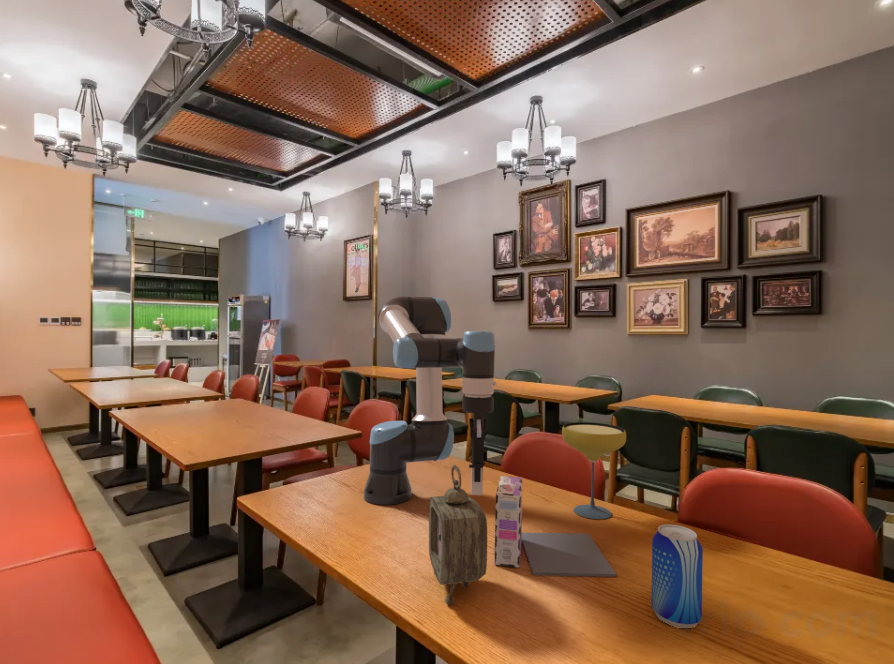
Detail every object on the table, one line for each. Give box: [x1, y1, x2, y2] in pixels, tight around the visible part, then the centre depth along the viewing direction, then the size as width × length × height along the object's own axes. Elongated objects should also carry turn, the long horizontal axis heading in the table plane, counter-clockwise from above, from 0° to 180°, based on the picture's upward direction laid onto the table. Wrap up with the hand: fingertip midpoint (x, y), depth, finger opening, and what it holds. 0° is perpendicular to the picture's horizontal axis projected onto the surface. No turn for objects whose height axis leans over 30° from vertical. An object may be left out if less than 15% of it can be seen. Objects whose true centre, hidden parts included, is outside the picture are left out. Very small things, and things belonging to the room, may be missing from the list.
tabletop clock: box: [428, 464, 488, 606], centre depth 94 cm, size 14×9×25 cm, turn 13°
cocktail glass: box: [561, 421, 627, 520], centre depth 135 cm, size 18×18×25 cm
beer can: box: [650, 524, 704, 629], centre depth 85 cm, size 8×8×16 cm
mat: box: [521, 531, 617, 578], centre depth 109 cm, size 20×18×1 cm
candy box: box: [494, 475, 523, 568], centre depth 109 cm, size 14×6×16 cm, turn 169°
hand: (476, 493), depth 109 cm, fingers closed
